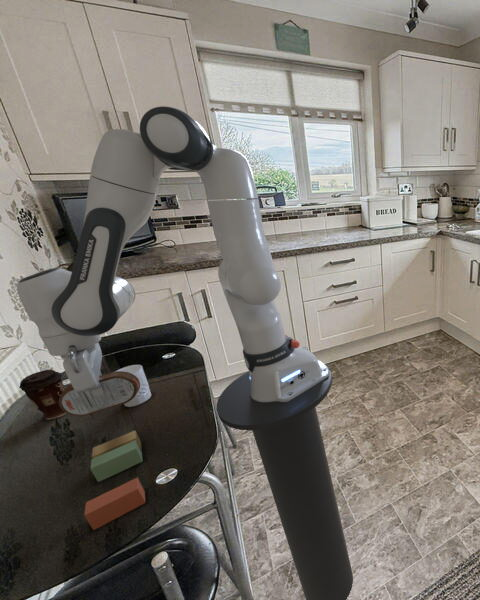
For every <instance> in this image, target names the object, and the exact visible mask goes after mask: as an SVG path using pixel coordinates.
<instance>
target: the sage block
mask: <svg viewBox="0 0 480 600" xmlns="http://www.w3.org/2000/svg"><path fill="white" fill-rule="evenodd" d="M90 460H91V462H90V469H89V470H90V471H91V473H92V474H93V476H94V478H95V479H96V482H97V483H100V482H101V481H102V482H103V481H104V480H107V479H109V478H110V477H113V476H115V475H117V474H119V473H122V472H124V471H125V470H128V469H130V468H131V467H134V466H136V465H138V464H140V463H143V452H142V451H141V450H140V448H139V446H138V444H137V442H136V440H135V441H133V442H130V443H128V444H126V445H123V446H121V447H119V448H116V449H114V450H112V451H110V452H107V453H105V454H103V455H100V456H98V457H96V458H91V459H90Z"/></svg>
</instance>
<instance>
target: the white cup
mask: <svg viewBox="0 0 480 600" xmlns="http://www.w3.org/2000/svg"><path fill="white" fill-rule="evenodd" d="M117 371H124V372H129V373H132V374H133V375H135V376H136V377H137V378H138V379H139V382H140V388H139V391H138V392H137V394H136V396H135V397H134V398H133V399H132V400H131V401H129V402H127V403H125V404H123V405H124V407H127V408H132V407H136V406H139V405H141V404H143V403H146V402H147V401H149V399H151V397H152V393H151V389H150V385H149V382H148V379H147V376H146V374H145V370H144V367H143V365H141V364H132V365H127V366H124V367H122V368H119V369H118V370H115V371H114V372H117Z"/></svg>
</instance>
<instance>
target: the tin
mask: <svg viewBox="0 0 480 600" xmlns="http://www.w3.org/2000/svg"><path fill="white" fill-rule="evenodd" d="M116 371H117V370H116ZM99 383H100V385H102V387H103V389H104V392H103V394H101V395H98V396H94V395H93V393H92V391H91V390H88V391H85V392H82V393H77V392H76V391H75V390H74V388H73V386H72V384H71V383H70V384H69V385H68V386H66V387H64V388H65V389H64V391H63V393H62V394H61V396H60V398H59V406H60V408H61V409H62V410H63V411H64V412H66V413H67V414H66V415H70V416H74V417H85V416H89V415H92V414H96V413H99V412H102V411H106V410H109V409H111V408H115V407H119V406H122V405H124V404H125V403H127V402H129V401H131V400H132V399H133V398H134V397H135V396H136V394H137V392H138V391H139V388H140V382H139V379H138V378H137V377H136V376H135V375H133V374H132V373H129V372H124V371H117V372H115V371H112V372H110V373H105V374H102V375H101V376H99Z"/></svg>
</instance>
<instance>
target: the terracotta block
mask: <svg viewBox="0 0 480 600" xmlns="http://www.w3.org/2000/svg"><path fill="white" fill-rule="evenodd" d="M144 504H146V491H145V489H144V487H143V486H142V483H141V481H140V479H139V477H135V478H133V479H131V480H129V481H127V482H125V483H123V484H121V485H119V486H117V487H115V488H113V489H110V490H109V491H107V492H104V493H102V494H101V495H98V496H96V497H94V498H92V499H90V500H88V501H86V502H85V507H84V515H83V516H84V518H85V519H86V522H88V524H89V525H90V527H91V529H92V531H96V530H97V529H99V528H101V527H103V526H105V525H107V524H108V523H110V522H112V521H114V520H116V519H118V518H120V517H121V516H123V515H125V514H127V513H129V512H131V511H133V510H135V509H137V508H139V507H140V506H143V505H144Z"/></svg>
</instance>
